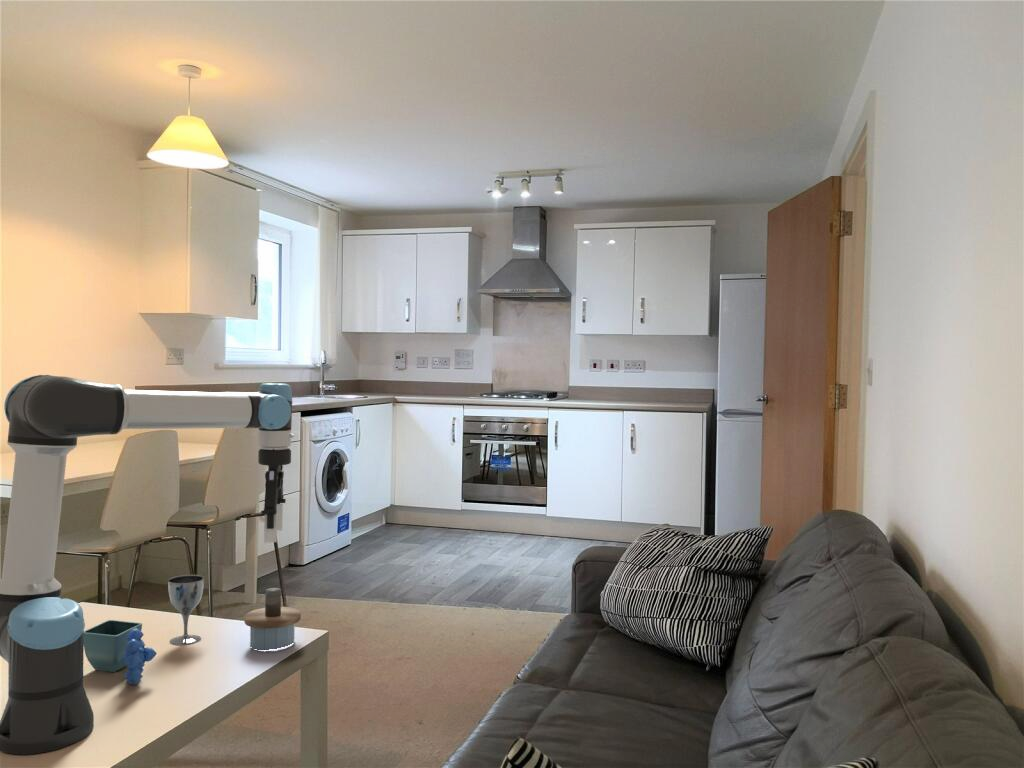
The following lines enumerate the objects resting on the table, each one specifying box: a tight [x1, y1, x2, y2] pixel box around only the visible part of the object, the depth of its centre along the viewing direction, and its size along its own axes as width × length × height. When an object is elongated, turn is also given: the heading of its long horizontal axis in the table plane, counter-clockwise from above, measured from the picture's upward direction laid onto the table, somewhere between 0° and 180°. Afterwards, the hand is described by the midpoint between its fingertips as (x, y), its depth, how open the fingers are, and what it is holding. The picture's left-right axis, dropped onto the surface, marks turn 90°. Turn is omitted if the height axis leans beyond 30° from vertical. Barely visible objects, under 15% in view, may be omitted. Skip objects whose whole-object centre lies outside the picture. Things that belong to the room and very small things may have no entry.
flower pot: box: [84, 619, 143, 673], centre depth 174 cm, size 9×9×9 cm
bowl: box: [249, 623, 296, 650], centre depth 190 cm, size 10×10×6 cm
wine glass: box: [167, 574, 205, 646], centre depth 192 cm, size 8×8×15 cm
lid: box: [244, 587, 302, 629], centre depth 190 cm, size 13×13×7 cm
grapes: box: [122, 628, 157, 686], centre depth 166 cm, size 12×7×12 cm, turn 22°
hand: (273, 536), depth 190 cm, fingers open, 13 cm apart
